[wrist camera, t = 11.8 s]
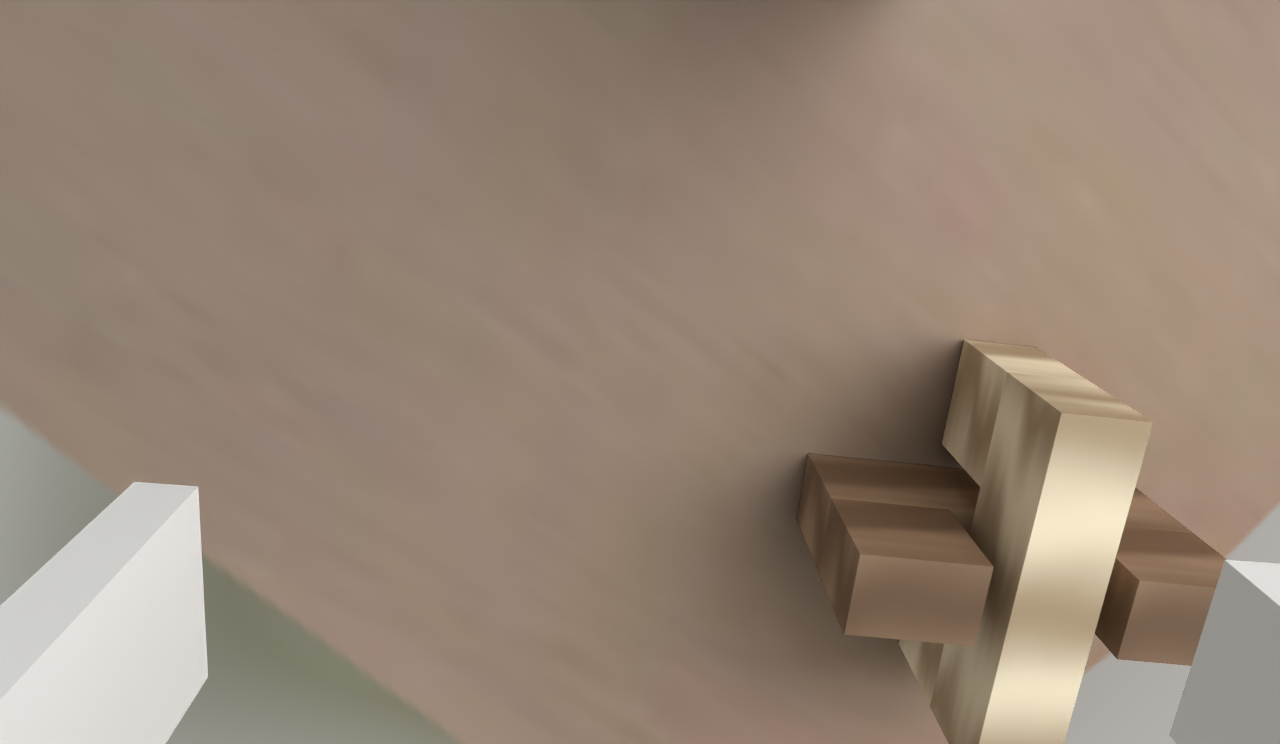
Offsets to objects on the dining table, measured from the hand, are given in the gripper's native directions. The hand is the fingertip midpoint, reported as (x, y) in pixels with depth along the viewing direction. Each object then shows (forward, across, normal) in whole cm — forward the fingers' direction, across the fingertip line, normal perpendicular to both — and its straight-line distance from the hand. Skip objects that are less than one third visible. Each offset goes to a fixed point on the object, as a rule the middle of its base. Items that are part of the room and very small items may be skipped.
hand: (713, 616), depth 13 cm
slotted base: (+26, +15, -10) cm, 32 cm away
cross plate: (+26, +15, -10) cm, 32 cm away
